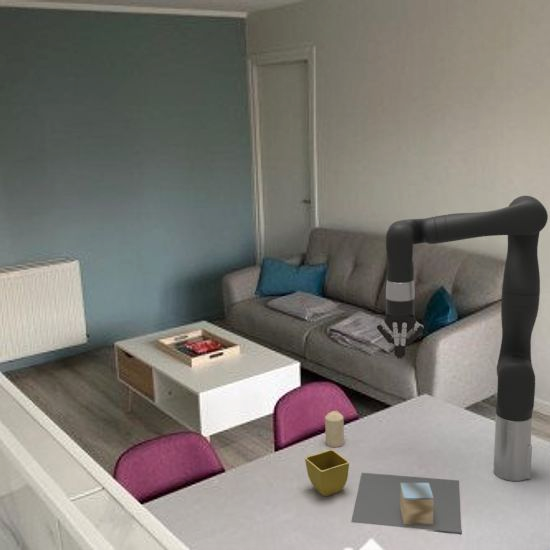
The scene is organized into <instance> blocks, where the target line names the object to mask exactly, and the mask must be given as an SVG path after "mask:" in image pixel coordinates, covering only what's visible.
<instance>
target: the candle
mask: <svg viewBox="0 0 550 550" xmlns="http://www.w3.org/2000/svg"><path fill="white" fill-rule="evenodd" d="M324 420H325V423H324V424H325V426H324V427H325V428H324V429H325V445H326V446H328V447H331V448H339V447H341V446H343V445H344V444H345V430H344V429H345V427H344V426H345V425H344V424H345V423H344V415H343V414H342V413H341V412H339V411H338V410H332V411H330V412H328V413H327V414H326V415H325V417H324Z"/></svg>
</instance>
